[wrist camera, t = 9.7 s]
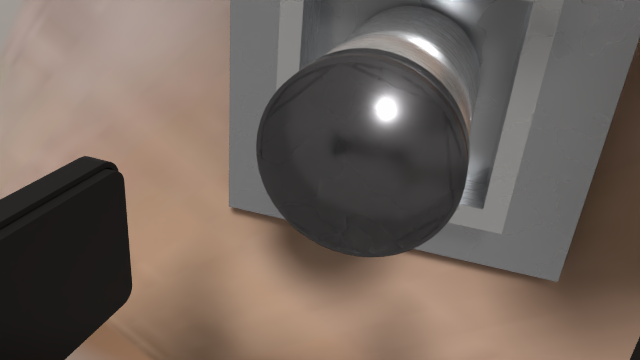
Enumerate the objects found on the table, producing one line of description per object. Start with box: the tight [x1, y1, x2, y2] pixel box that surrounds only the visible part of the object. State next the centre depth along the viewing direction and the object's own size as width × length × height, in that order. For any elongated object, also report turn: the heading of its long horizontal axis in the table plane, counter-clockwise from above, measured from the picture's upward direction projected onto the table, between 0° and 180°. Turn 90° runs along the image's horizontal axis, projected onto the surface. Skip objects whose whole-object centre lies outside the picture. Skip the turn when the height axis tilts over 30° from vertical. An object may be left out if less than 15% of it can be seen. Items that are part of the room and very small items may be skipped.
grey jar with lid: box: [256, 6, 480, 257], centre depth 17 cm, size 5×5×8 cm
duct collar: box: [229, 0, 640, 282], centre depth 20 cm, size 14×14×3 cm
